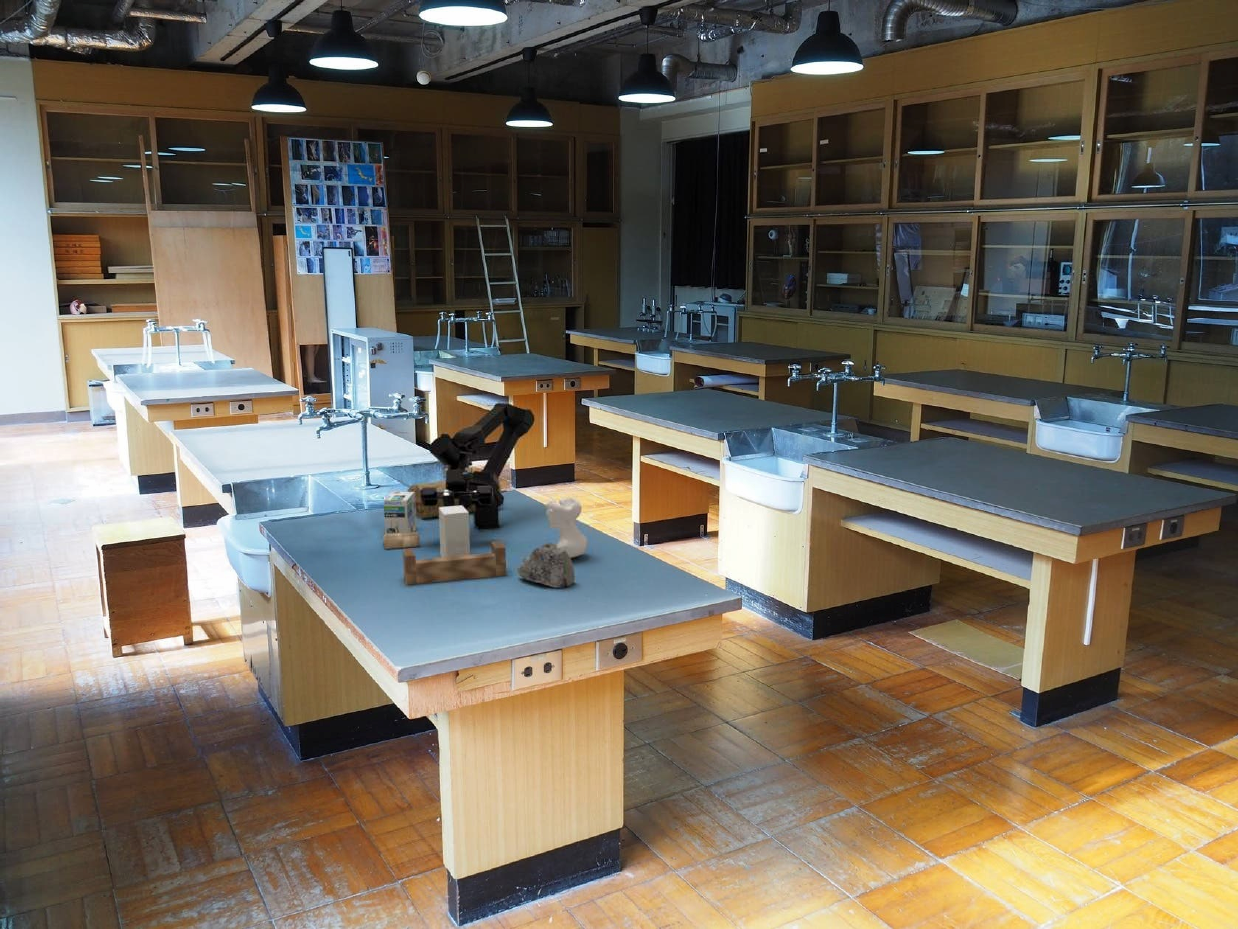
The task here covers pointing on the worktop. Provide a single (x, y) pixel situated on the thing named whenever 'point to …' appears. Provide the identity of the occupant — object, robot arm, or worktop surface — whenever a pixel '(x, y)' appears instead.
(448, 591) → the worktop surface
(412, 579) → the stop rail
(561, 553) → the mineral rock
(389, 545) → the roller
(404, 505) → the light bulb box
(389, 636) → the worktop surface
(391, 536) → the roller
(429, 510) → the core sample
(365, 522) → the worktop surface
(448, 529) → the small box
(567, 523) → the white bust sculpture
